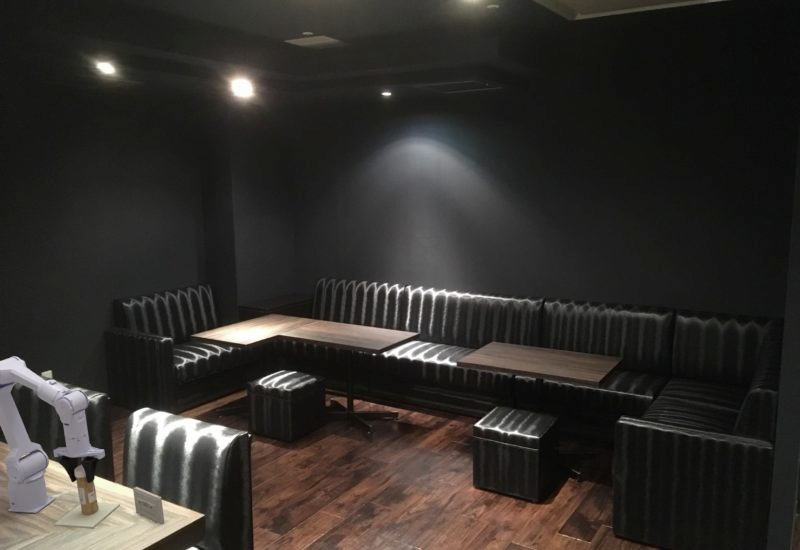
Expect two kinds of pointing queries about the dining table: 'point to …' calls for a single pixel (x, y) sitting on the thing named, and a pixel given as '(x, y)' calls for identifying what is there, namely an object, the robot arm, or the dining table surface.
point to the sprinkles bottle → (86, 492)
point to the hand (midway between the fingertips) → (83, 480)
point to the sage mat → (87, 516)
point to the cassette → (148, 505)
